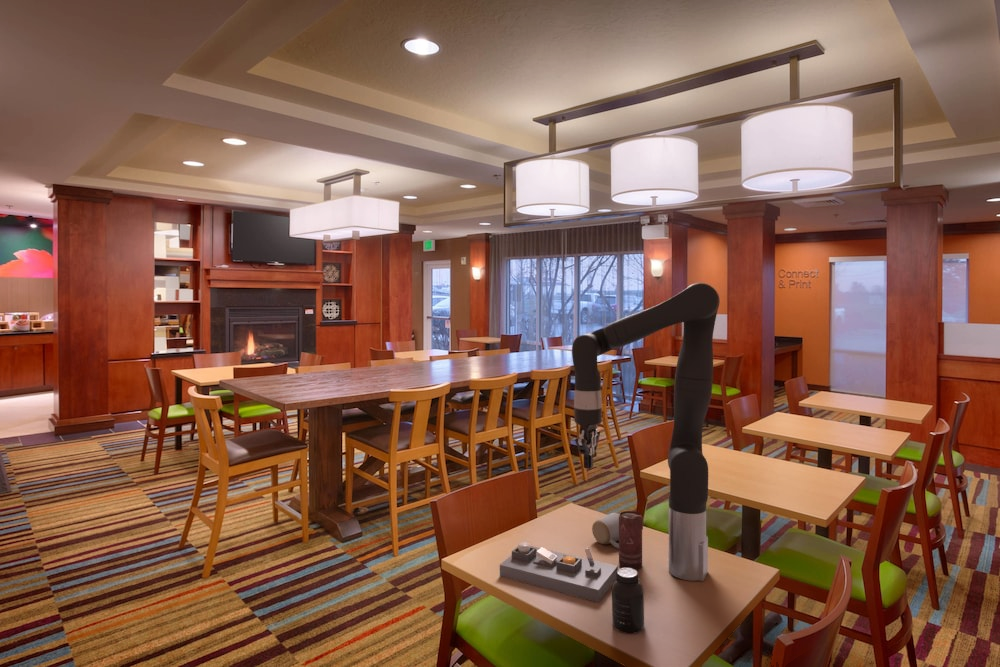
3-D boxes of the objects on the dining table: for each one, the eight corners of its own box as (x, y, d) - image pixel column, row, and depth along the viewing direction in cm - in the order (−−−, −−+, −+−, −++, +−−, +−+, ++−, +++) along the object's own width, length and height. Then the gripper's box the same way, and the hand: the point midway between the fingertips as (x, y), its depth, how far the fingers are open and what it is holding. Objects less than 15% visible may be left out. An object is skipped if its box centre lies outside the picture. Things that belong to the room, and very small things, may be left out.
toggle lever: (595, 565, 140) (589, 546, 141) (594, 567, 139) (587, 548, 140) (591, 566, 141) (585, 547, 141) (589, 568, 140) (583, 549, 140)
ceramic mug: (590, 540, 167) (590, 515, 166) (608, 533, 172) (608, 509, 171) (617, 553, 158) (618, 527, 158) (636, 545, 163) (636, 519, 163)
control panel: (617, 577, 144) (617, 558, 144) (598, 602, 132) (598, 581, 132) (525, 555, 158) (524, 537, 157) (499, 575, 146) (499, 557, 145)
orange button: (577, 564, 144) (577, 557, 144) (572, 569, 141) (572, 562, 141) (565, 561, 145) (565, 555, 145) (560, 566, 143) (560, 559, 142)
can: (643, 571, 147) (643, 519, 146) (619, 569, 148) (618, 517, 147) (642, 561, 153) (642, 511, 152) (618, 559, 154) (618, 509, 153)
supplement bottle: (621, 613, 127) (620, 561, 126) (649, 624, 123) (649, 570, 122) (606, 627, 122) (606, 573, 121) (635, 638, 117) (635, 582, 117)
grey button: (532, 550, 150) (532, 543, 150) (526, 555, 147) (526, 548, 147) (521, 548, 152) (521, 541, 152) (516, 552, 149) (515, 545, 149)
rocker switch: (556, 559, 147) (557, 555, 146) (551, 564, 144) (552, 560, 144) (540, 550, 149) (542, 546, 149) (535, 554, 146) (536, 551, 146)
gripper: (592, 411, 147) (592, 476, 148) (609, 403, 158) (609, 463, 159) (565, 408, 151) (566, 472, 151) (584, 401, 162) (584, 460, 163)
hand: (588, 467), depth 155 cm, fingers closed
